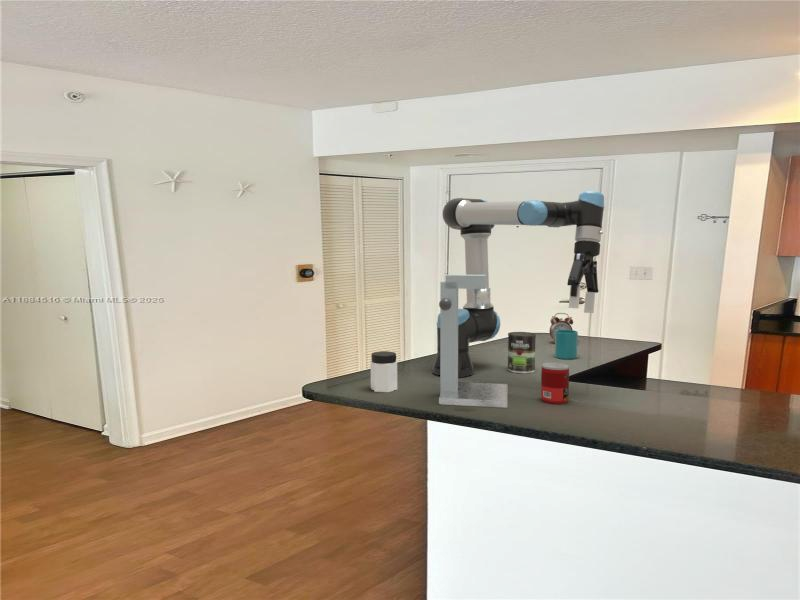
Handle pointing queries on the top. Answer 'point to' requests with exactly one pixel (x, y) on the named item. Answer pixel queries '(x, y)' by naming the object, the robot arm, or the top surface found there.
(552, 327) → the alarm clock
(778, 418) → the top surface
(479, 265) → the robot arm
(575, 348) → the cup
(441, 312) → the press
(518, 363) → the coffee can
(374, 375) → the jar
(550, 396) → the canned food
